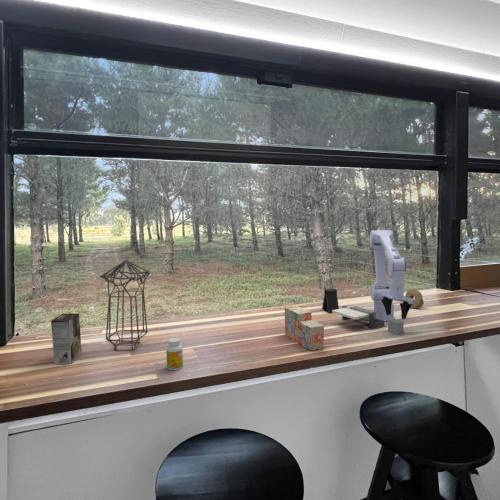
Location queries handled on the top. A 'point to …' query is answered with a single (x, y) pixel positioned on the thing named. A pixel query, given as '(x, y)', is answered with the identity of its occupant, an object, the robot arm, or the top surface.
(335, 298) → the phone stand
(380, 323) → the frame
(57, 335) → the coffee box
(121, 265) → the geometric lantern
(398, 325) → the stone block
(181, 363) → the supplement bottle
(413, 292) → the stone disc
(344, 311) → the trapdoor
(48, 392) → the top surface
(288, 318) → the stack of blocks
